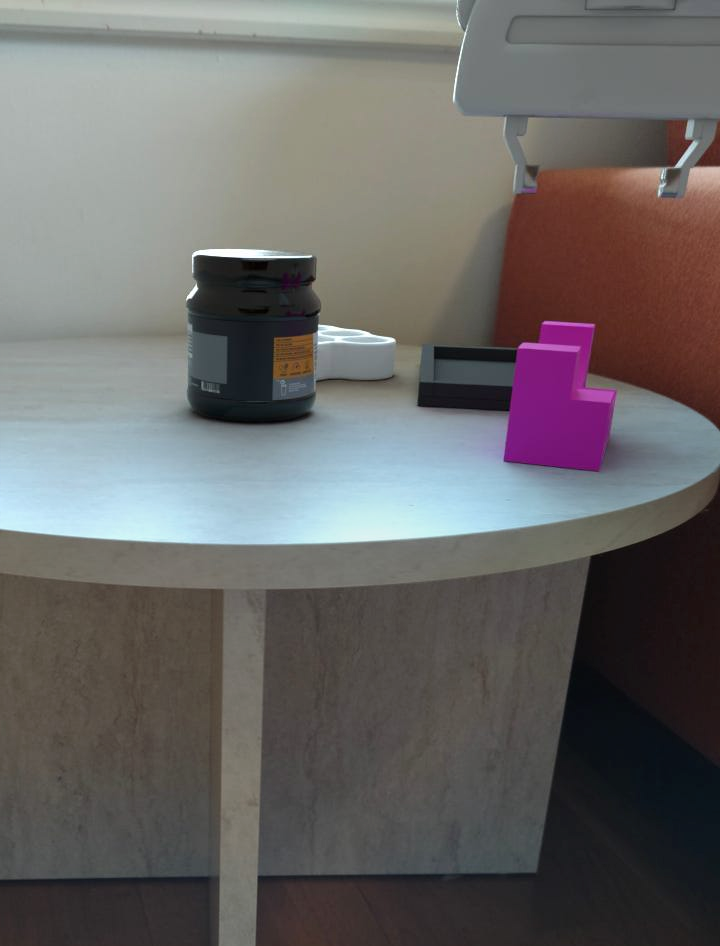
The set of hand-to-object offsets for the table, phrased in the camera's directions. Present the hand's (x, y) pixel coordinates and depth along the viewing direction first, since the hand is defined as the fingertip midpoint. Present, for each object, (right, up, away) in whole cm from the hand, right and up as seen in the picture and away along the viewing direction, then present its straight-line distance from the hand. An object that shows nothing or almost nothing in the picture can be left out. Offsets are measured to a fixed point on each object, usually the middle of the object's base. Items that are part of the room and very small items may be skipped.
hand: (596, 195), depth 68 cm
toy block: (0, -15, +7) cm, 17 cm away
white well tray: (-17, -3, +33) cm, 38 cm away
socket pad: (-1, -6, +26) cm, 27 cm away
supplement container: (-23, -11, +15) cm, 30 cm away
